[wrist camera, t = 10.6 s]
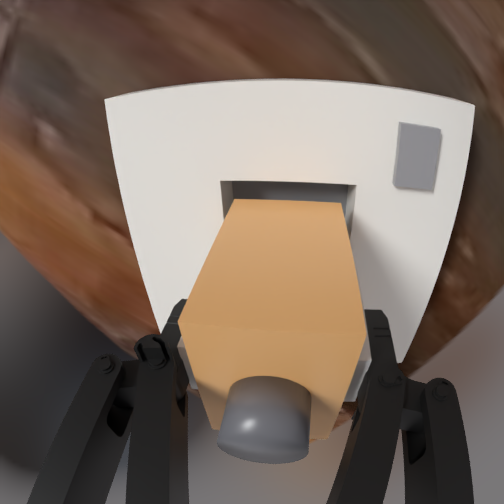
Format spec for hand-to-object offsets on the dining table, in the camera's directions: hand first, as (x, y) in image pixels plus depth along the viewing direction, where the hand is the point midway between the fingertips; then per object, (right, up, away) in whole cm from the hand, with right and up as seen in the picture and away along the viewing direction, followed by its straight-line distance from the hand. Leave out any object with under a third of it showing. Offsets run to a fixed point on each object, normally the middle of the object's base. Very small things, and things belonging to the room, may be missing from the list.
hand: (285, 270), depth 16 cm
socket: (+1, +2, +3) cm, 4 cm away
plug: (0, 0, +1) cm, 1 cm away
